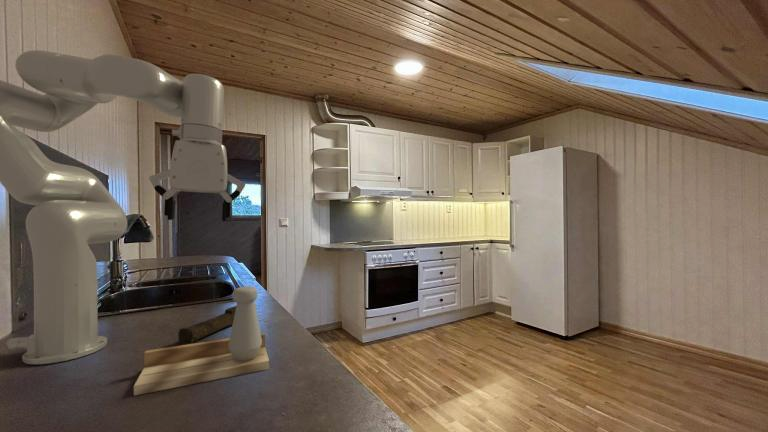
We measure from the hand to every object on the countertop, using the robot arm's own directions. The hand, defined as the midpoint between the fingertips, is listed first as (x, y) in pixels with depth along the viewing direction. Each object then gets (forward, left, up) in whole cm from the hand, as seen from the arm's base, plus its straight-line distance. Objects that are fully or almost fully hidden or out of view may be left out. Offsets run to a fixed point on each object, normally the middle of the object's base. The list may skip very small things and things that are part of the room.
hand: (198, 220), depth 67 cm
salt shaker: (+8, -11, -26) cm, 29 cm away
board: (+2, -10, -27) cm, 29 cm away
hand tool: (+3, +13, -28) cm, 31 cm away
